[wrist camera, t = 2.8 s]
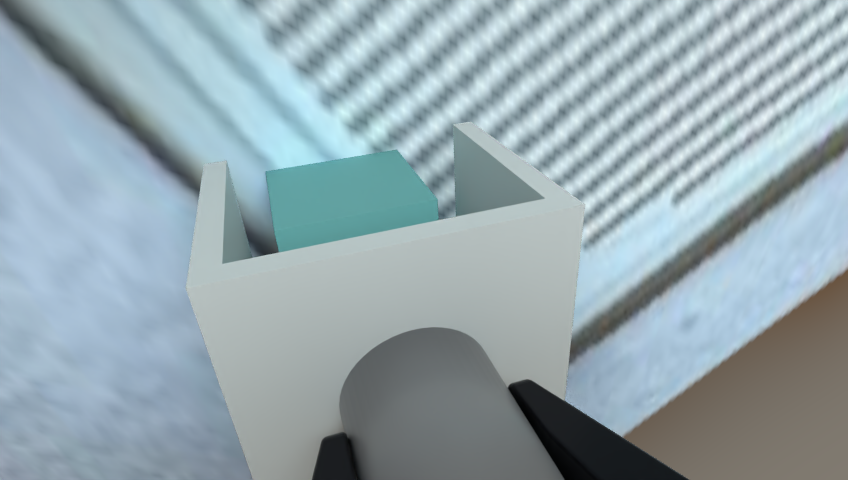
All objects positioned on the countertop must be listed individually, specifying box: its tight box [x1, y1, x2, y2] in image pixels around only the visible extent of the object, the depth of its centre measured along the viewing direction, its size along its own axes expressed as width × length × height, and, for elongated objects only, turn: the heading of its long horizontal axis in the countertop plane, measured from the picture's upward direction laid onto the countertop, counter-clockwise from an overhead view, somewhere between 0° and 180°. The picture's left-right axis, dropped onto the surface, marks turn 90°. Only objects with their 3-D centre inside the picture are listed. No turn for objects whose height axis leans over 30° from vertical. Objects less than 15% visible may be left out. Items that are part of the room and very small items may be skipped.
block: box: [266, 150, 438, 252], centre depth 15 cm, size 4×4×4 cm
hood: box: [186, 122, 585, 480], centre depth 10 cm, size 7×7×10 cm
